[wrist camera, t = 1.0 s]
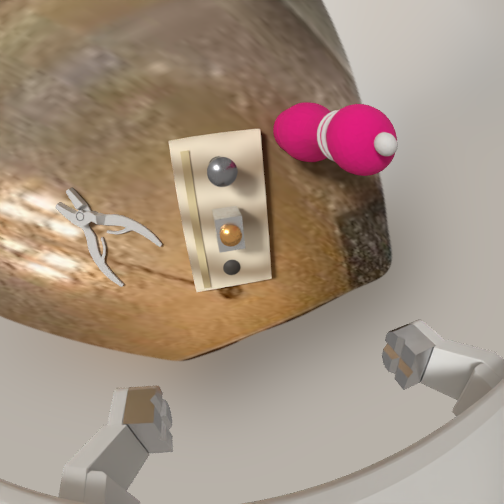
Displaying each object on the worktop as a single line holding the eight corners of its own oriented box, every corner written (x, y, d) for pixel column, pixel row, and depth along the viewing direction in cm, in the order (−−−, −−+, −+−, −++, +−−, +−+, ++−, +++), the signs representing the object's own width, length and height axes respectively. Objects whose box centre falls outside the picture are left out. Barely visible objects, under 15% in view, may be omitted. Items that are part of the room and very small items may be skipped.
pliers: (119, 291, 38) (44, 224, 31) (121, 285, 39) (48, 220, 33) (162, 246, 36) (81, 169, 30) (163, 241, 38) (85, 167, 31)
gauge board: (169, 140, 32) (168, 141, 30) (257, 128, 33) (260, 128, 32) (196, 286, 41) (196, 292, 40) (269, 273, 43) (272, 279, 41)
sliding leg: (211, 207, 35) (215, 221, 30) (235, 203, 35) (242, 217, 31) (216, 236, 37) (220, 255, 32) (238, 233, 37) (246, 250, 32)
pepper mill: (258, 138, 34) (330, 156, 16) (288, 93, 32) (383, 74, 14) (302, 167, 37) (396, 213, 19) (330, 125, 35) (439, 140, 17)
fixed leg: (203, 155, 32) (205, 159, 28) (230, 151, 33) (235, 155, 28) (207, 180, 34) (209, 189, 29) (233, 176, 34) (239, 184, 30)
